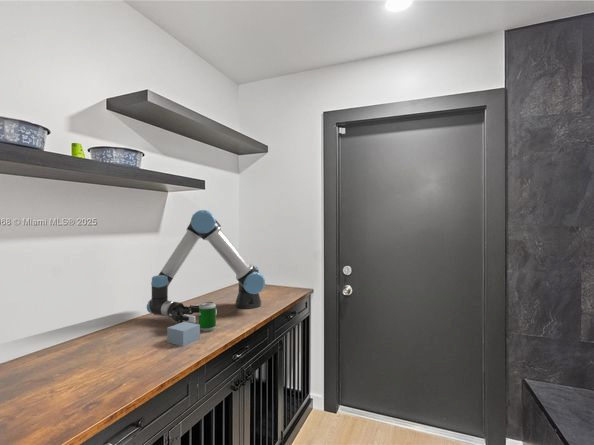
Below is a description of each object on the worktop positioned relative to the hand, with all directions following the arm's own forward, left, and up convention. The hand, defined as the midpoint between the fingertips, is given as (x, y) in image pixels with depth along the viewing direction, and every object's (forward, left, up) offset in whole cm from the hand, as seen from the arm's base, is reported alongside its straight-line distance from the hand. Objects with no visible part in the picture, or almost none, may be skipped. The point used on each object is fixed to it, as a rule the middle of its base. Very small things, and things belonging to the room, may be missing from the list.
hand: (206, 315), depth 145 cm
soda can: (-1, 0, -7) cm, 7 cm away
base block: (+14, +1, -6) cm, 16 cm away
